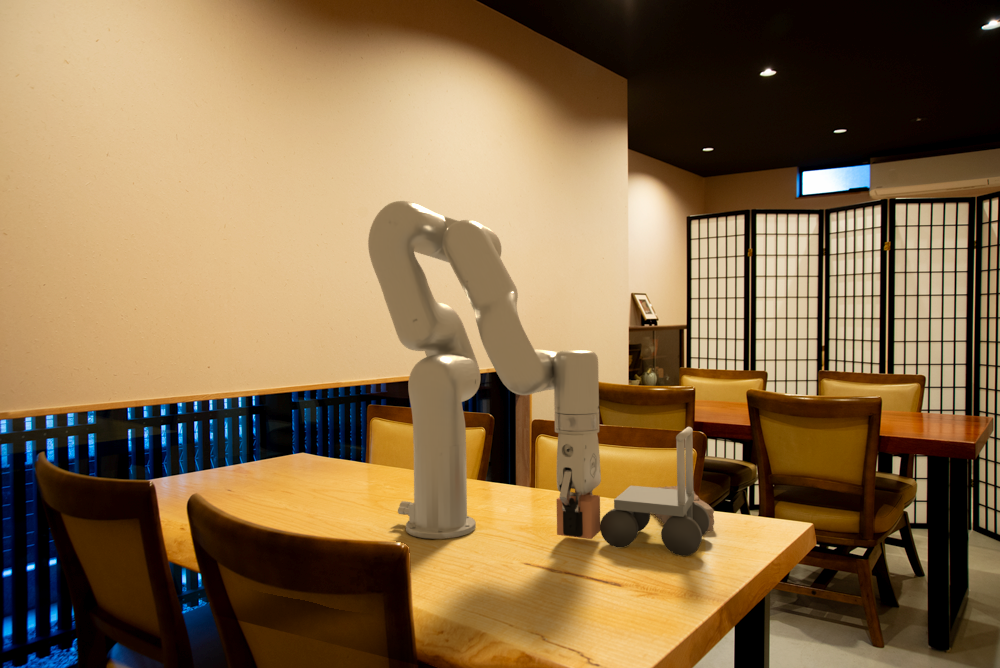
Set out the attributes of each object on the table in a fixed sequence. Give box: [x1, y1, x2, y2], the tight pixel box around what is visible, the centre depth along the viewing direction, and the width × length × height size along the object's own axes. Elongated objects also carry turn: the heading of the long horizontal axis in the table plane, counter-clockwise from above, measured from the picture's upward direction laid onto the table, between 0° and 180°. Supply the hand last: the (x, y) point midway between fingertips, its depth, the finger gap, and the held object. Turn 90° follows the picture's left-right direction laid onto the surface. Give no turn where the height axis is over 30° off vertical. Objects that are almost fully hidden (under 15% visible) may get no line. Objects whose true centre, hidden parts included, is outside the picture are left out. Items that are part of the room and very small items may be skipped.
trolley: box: [600, 426, 710, 557], centre depth 105 cm, size 16×11×19 cm
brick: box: [653, 485, 715, 533], centre depth 119 cm, size 17×8×5 cm, turn 0°
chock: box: [556, 494, 601, 540], centre depth 106 cm, size 6×5×6 cm
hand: (578, 529), depth 106 cm, fingers closed on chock, 4 cm apart
